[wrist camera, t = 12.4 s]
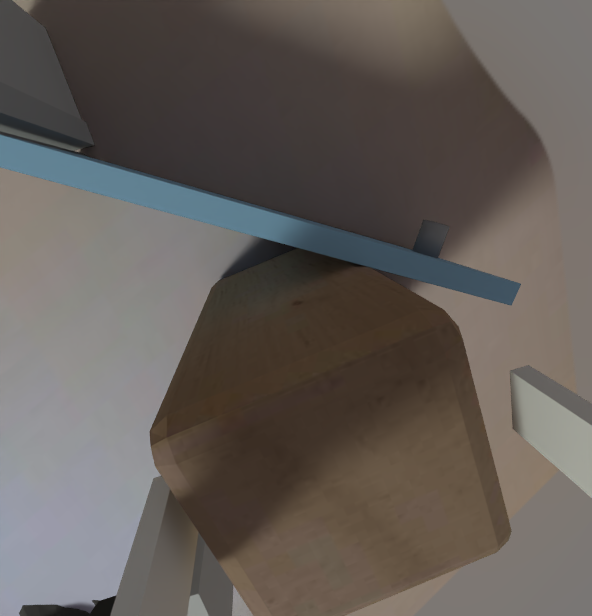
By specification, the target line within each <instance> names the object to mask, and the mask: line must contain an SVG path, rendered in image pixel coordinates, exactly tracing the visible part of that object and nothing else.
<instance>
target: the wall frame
mask: <svg viewBox="0 0 592 616" xmlns="http://www.w3.org/2000/svg"><path fill="white" fill-rule="evenodd" d="M0 131H1V132H5V133H9V134H13V135H16V136H20V137H24V138H27V139H31V140H35V141H38V142H42V143H46V144H50V145H53V146H57V147H61V148H64V149H68V150H72V151H74V150H78V149H81V148H85V147H89V146H93V145H95V144H94V141H93V139H92V136H91V134H90V131H89V129H88V126H87V124H86V122H85V121H83V120H82V119H81V117H80V114H79V112H78V109H77V106H76V104H75V101H74V99H73V96H72V94H71V91H70V89H69V86H68V84H67V81H66V79H65V76H64V74H63V71H62V69H61V66H60V64H59V61H58V59H57V56H56V53H55V51H54V48H53V46H52V43H51V41H50V38H49V36H48V33H47V31H46V28H45V27H43V26H42V25H41V24H40V23H39V22H37V21H36V20H35V19H34V18H33V17H31V16H30V15H29V14H28V13H27V12H25V11H24V10H23V9H22V8H21V7H19V6H18V5H17V4H16V3H15V2H13V1H12V0H0ZM232 602H233V584H232V582H231V581H230V579H229V578H228V576H227V575H226V573H225V571H224V570H223V568H222V567H221V565H220V564H219V562H218V561H217V559H216V558H215V556H214V555H213V553H212V552H211V550H210V549H209V547H208V546H207V544H206V543H205V541H204V540H203V538H202V537H201V535H200V534H199V532H198V539H197V547H196V554H195V562H194V569H193V576H192V584H191V591H190V599H189V606H188V614H187V616H232Z"/></svg>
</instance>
